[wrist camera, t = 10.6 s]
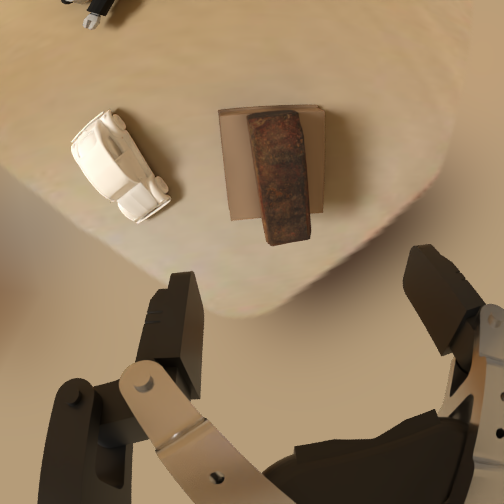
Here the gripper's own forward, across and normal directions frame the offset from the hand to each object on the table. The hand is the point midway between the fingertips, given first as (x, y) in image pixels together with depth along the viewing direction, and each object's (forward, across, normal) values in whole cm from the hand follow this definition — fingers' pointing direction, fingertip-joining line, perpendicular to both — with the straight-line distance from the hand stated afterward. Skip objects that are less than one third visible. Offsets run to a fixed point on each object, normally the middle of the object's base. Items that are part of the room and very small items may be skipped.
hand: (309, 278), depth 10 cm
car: (+21, +14, 0) cm, 26 cm away
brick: (+18, -1, +2) cm, 18 cm away
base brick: (+21, -1, +2) cm, 21 cm away
